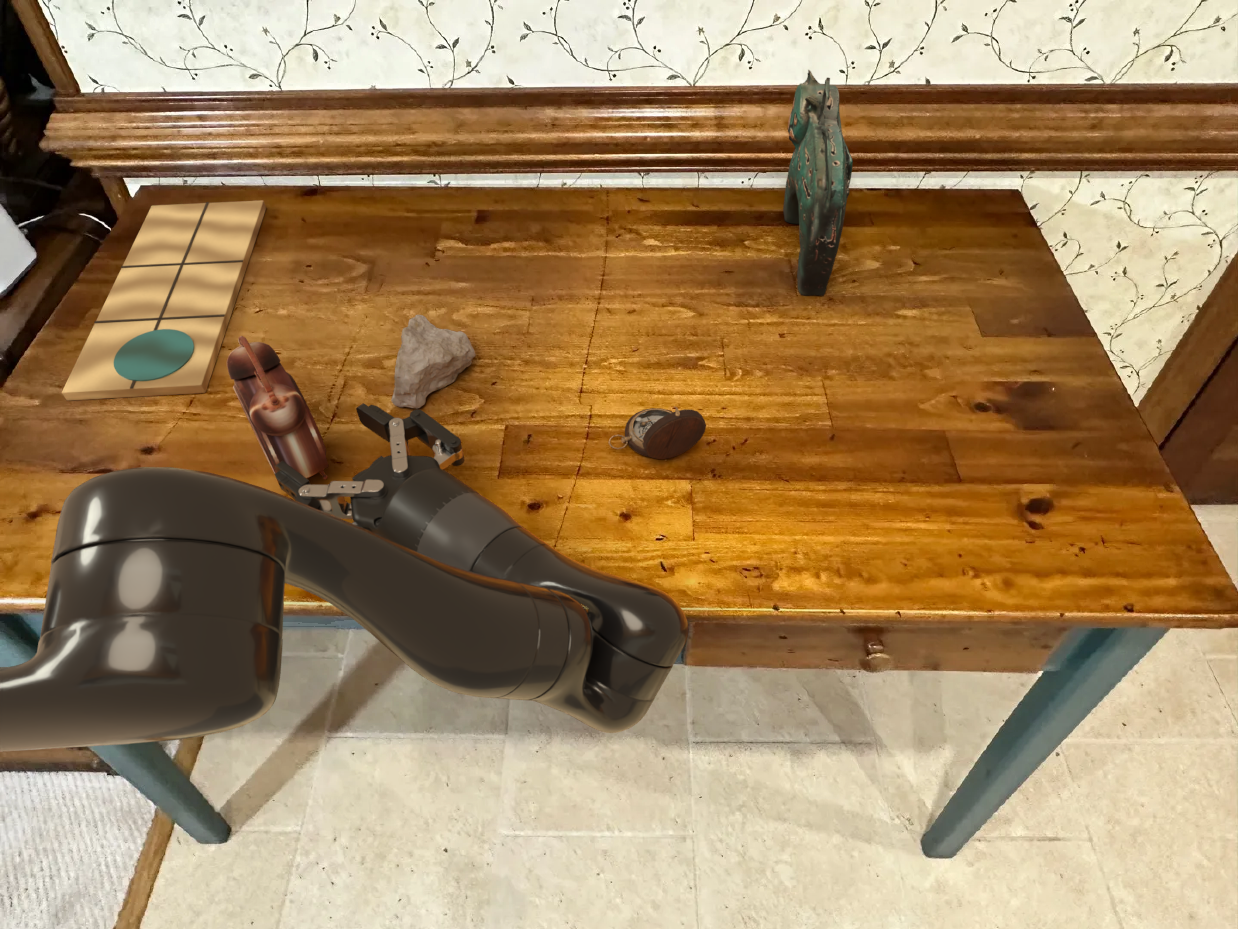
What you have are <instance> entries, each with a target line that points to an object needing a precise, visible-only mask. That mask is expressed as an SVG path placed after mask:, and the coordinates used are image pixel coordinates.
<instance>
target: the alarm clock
mask: <svg viewBox="0 0 1238 929" xmlns="http://www.w3.org/2000/svg"><path fill="white" fill-rule="evenodd" d="M237 342H238V344H239V346H237V347H236V348H235V349H233V350H232V351H230V353H229V355H228V356H227V359H226V367H227V373H228V375H229V378H230V379H231V380H233V382H234V384H233V386H232V388H233V391H234V393H235V394H236V397H237V399H238V401H239V404H240V406H241V408H242V410H243V413H244V415H245V416H246V419H247V420H248V423H249V425H250V427H251V429H252V431H253V433H254V435H255V437H256V439H257V441H258V443H259V446H260V448H261V449H262V452H263V454H264V455H265V456H264V457H265V458H266V460H267V462H268V464H269V466H270V468H271V470H272V472H273V474H274V475H275V473H277V470H276V468H275V466H276V465H277V464H278V463H280V462H281V461H284V462H285V463H287V464H288V465H289V466H291V467H292V468H293V469H295V470H296V471H297V472H299V473H300V474H301V475H303V476H304V477H305V478H307V479H309V478H310V477H312V476H314V475H316V474H318V473H319V474H320V476H322V479H323V480H327V479H328V475H327V474H326V473H325V471H324V470H325V469H327V468H329V462H328V459H327V449H326V448H327V447H326V445H325V442H324V439H323V437H322V435H321V432H320V429H319V428H318V425H317V423H316V420H315V418H314V416H313V414H312V412H311V410H310V407H309V406H308V403H307V401H306V399H305V397H304V395H303V393H302V391H301V389H300V387H299V385H298V384H297V382H296V381H295V379H294V377H293V376H292V374H290V373H289V372H288V371H286V368H284V366H283V364H282V363H281V359H280V357H279V355H278V353H277V352H276V350H275V349H273V347H272V346H271V345H270V344H268V343H265V342H261V341H253V342H249V341H248V339H247V337H245V336H243V335H240V336H238V340H237Z"/></svg>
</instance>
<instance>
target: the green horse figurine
mask: <svg viewBox="0 0 1238 929" xmlns="http://www.w3.org/2000/svg"><path fill="white" fill-rule="evenodd" d="M841 120H842V119H841V112H840V92H839V88H838V87H837V86H836V85H835V84H831V77H826V78H825V80H824V83H820V82H819V81H818V80H817V79H816V77H815V76H814V74H813V73H812V71H811V70H810V69H807V77H806V79H805V81H804V82H800V83H799V84H798V85H797V87H796V89H795V92H794V97H793V102H792V108H791V112H790V114H789V117H788V121H787V132H788V140H789V141H790V142H791V143H792V145H793V147H794V150H793V152H792V155H791V158H790V162H789V165H788V170H787V171H788V172H787V177H786V181H785V188H784V198H783V208H782V211H783V218H784V222H786V223H788V224H791V225H799V226H798V236H799V237H798V238H799V252H798V260H797V261H798V262H797V264H798V265H797V272H796V280H797V281H796V282H797V291H798V293H799V294H800V295H801V296H824V295H825V294H826V291H827V288H828V283H829V281H830V278H831V275H832V273H833V269H834V264H835V260H836V257H837V254H838V251H839V247H840V243H841V238H842V233H843V230H844V229H843V228H844V222H845V215H846V210H847V203H848V198H849V196H850V185H851V180H852V171H853V164H854V161H853V158H852V155H851V153H850V150H849V147H848V146H847V144H846V141H845V138H844V134H843V129H842V121H841Z"/></svg>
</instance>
